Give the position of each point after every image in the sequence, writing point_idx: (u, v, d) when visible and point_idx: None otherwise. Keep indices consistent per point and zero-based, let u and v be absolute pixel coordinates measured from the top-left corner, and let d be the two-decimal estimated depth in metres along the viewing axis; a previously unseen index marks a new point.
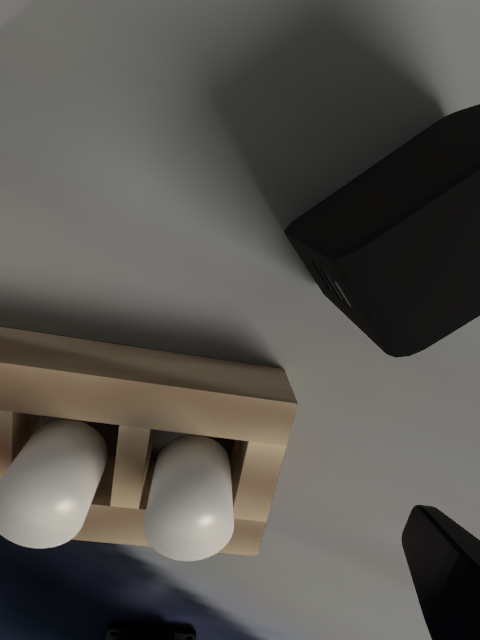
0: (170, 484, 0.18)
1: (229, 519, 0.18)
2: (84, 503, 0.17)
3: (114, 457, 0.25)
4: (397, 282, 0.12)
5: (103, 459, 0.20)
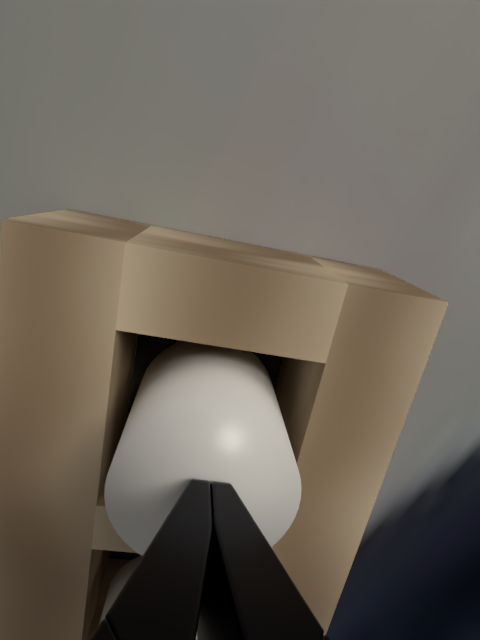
0: None
1: (187, 421, 0.08)
2: None
3: None
4: None
5: None
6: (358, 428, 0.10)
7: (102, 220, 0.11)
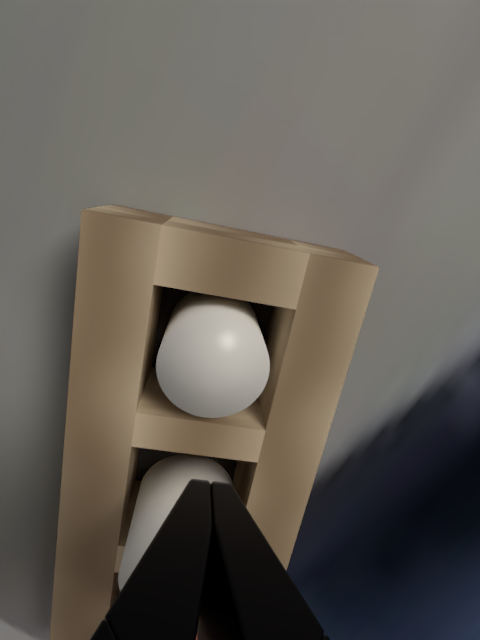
0: None
1: (204, 320, 0.13)
2: None
3: None
4: None
5: (179, 467, 0.16)
6: (320, 357, 0.15)
7: (139, 212, 0.15)
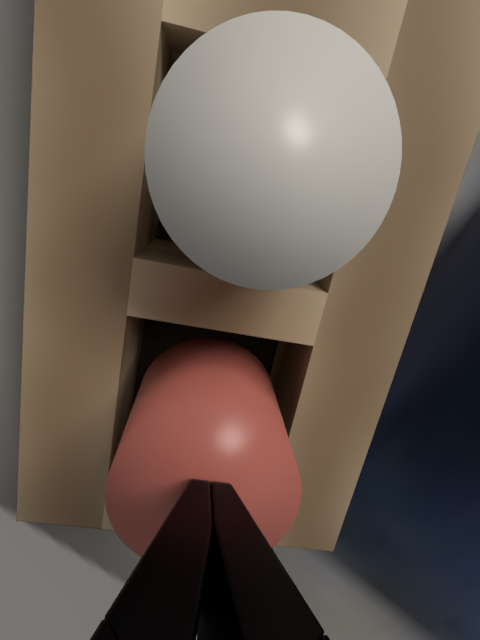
0: None
1: None
2: (261, 14, 0.06)
3: None
4: None
5: None
6: None
7: None
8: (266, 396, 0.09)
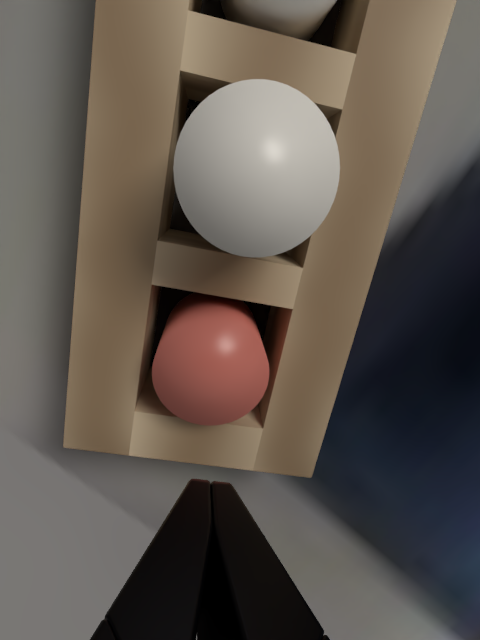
0: None
1: None
2: (247, 81, 0.09)
3: None
4: None
5: None
6: None
7: None
8: (249, 320, 0.15)
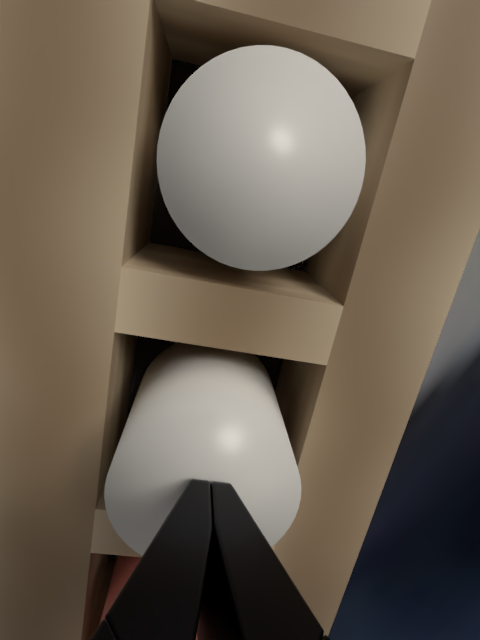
0: None
1: (248, 58, 0.07)
2: (189, 410, 0.08)
3: None
4: None
5: (199, 348, 0.10)
6: (449, 164, 0.08)
7: None
8: None
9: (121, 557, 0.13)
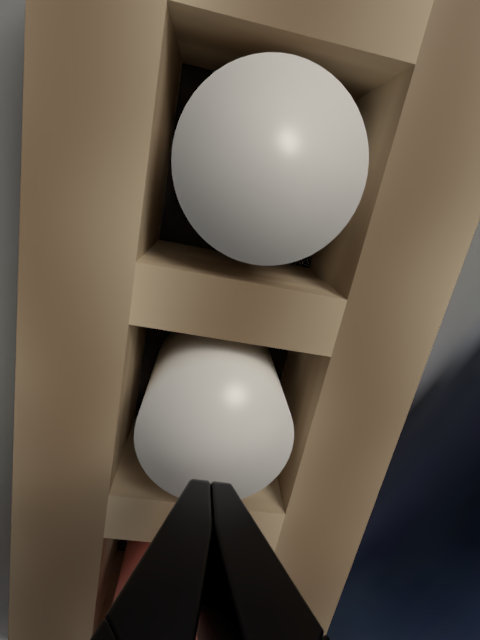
0: None
1: (258, 64, 0.07)
2: (203, 366, 0.09)
3: None
4: None
5: None
6: (448, 164, 0.09)
7: None
8: None
9: (131, 544, 0.13)
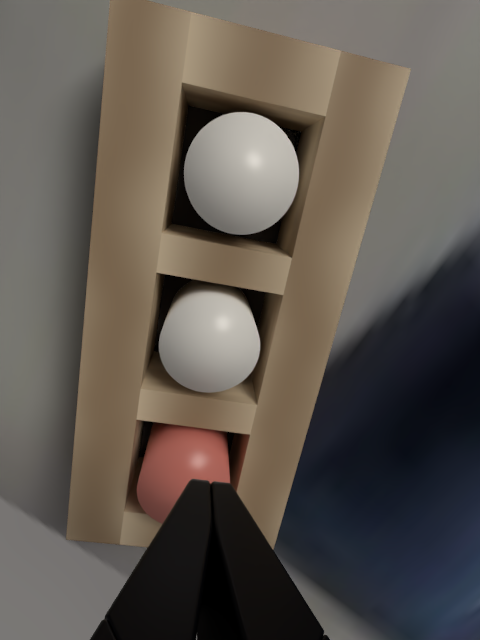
0: None
1: (233, 118, 0.13)
2: (202, 298, 0.15)
3: None
4: None
5: None
6: (349, 174, 0.14)
7: None
8: (216, 439, 0.18)
9: (152, 435, 0.19)
